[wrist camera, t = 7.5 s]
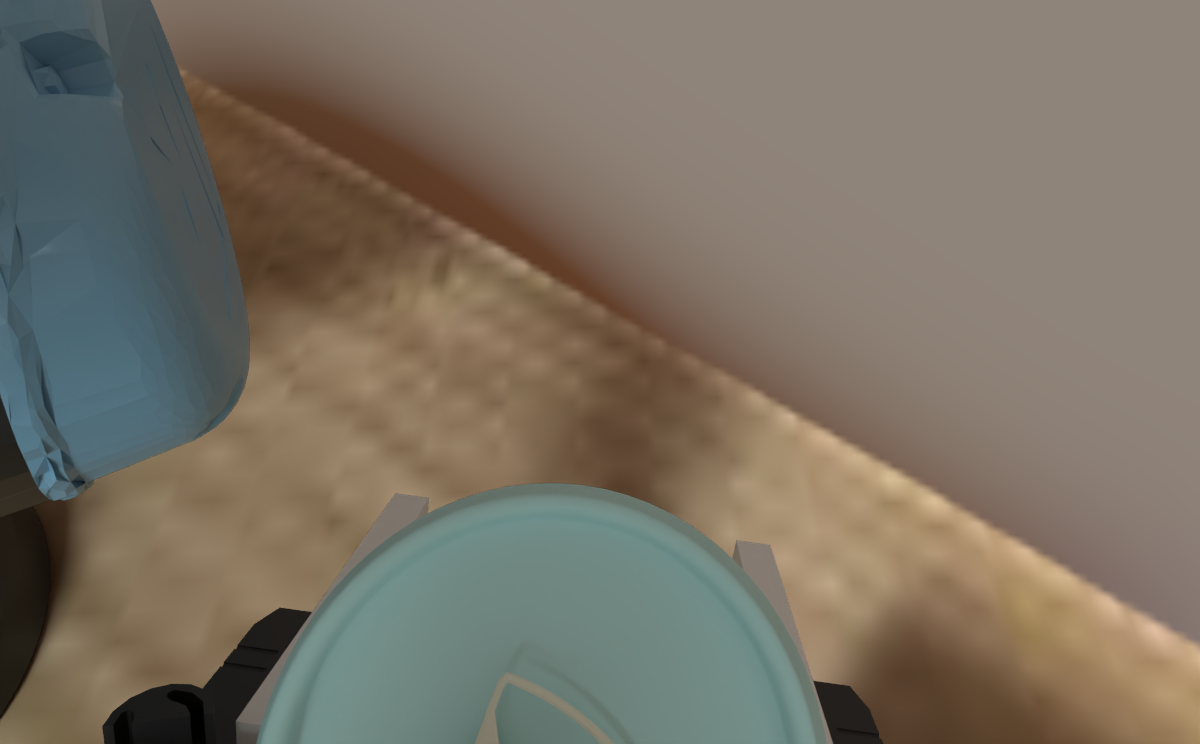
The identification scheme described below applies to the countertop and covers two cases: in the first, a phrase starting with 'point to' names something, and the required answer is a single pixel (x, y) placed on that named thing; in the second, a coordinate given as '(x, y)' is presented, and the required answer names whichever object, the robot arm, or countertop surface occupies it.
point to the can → (545, 635)
